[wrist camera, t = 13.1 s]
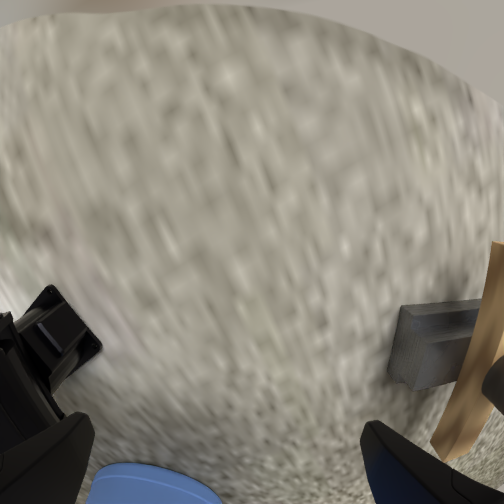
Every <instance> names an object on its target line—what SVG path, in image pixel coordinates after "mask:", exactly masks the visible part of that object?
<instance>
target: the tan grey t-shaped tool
mask: <svg viewBox="0 0 504 504" xmlns="http://www.w3.org/2000/svg"><path fill="white" fill-rule="evenodd" d="M494 406H495V407H496V408H497V409H498V410H499V411H500V412H501V413H502V414H503V415H504V242H495V241H492V246H491V253H490V260H489V266H488V271H487V277H486V282H485V287H484V292H483V296H482V301H481V305H480V309H479V313H478V317H477V321H476V324H475V328H474V331H473V335H472V338H471V342H470V345H469V348H468V351H467V354H466V357H465V360H464V363H463V366H462V369H461V371H460V374H459V377H458V379H457V382H456V385H455V387H454V390H453V392H452V395H451V397H450V399H449V402H448V404H447V406H446V409H445V411H444V413H443V415H442V417H441V420H440V422H439V424H438V426H437V428H436V430H435V432H434V434H433V436H432V438H431V440H430V443H431V445H432V446H433V448H434V449H435V451H436V452H437V454H438V456H439V457H440V459H441V460H442V462H443V463H444V462H447V461H450V460H452V459H455V458H457V457H460V456H462V455H464V454H467V453H468V452H469V451H470V449H471V447H472V446H473V444H474V442H475V441H476V439H477V437H478V436H479V434H480V432H481V430H482V429H483V427H484V425H485V423H486V421H487V419H488V417H489V416H490V414H491V412H492V410H493V408H494Z"/></svg>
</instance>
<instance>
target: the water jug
mask: <svg viewBox="0 0 504 504" xmlns="http://www.w3.org/2000/svg"><path fill="white" fill-rule="evenodd" d="M85 504H222V502H221V500H220V498H219V497H218V496H217V495H216V494H215V493H214V492H213V491H212V490H211V489H209V488H208V487H207V486H205V485H204V484H202V483H200V482H198V481H196V480H194V479H192V478H190V477H188V476H185V475H183V474H180V473H178V472H175V471H172V470H168V469H165V468H161V467H157V466H152V465H146V464H139V463H116V464H111V465H107V466H105V467H103V468H101V469H100V470H99V471H98V472H97V473H96V475H95V477H94V480H93V482H92V485H91V490H90V493H89V495H88V498H87V500H86V503H85Z"/></svg>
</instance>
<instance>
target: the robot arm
mask: <svg viewBox="0 0 504 504" xmlns="http://www.w3.org/2000/svg"><path fill="white" fill-rule="evenodd" d="M50 290H51V291H52V293H51V292H50ZM94 344H96V345H97V347H96V346H95V345H94ZM101 348H102V343H101V342H100V341H99V339H98V338H97V337H96V336H95V335H94V334H93V333H92V332H91V330H90V329H89V328H88V327H87V326H86V325H85V324H84V322H83V321H82V320H81V319H80V318H79V316H78V315H77V314H76V313H75V312H74V310H73V309H72V308H71V307H70V305H69V304H68V303H67V302H66V300H65V299H64V298H63V297H62V295H61V294H60V293H59V291H58V290H57V289H56V287H55V286H54V285H52V284H51V285H48V286H47V287H45V289H44V290H43V291H42V292H41V293H40V295H39V296H38V297H37V298H36V300H35V301H34V302H33V303H32V305H31V306H30V307H29V308H28V310H27V311H26V312H25V314H24V315H23V316H22V317H21V318H20V319H18V320H17V321H15V322H13V317H12V314H11V312H10V311H9V312H6V313H0V504H75V502H76V499H77V496H78V493H79V490H80V487H81V484H82V482H83V479H84V476H85V473H86V470H87V466H88V461H89V457H90V453H91V449H92V445H93V441H94V437H95V432H94V428H93V426H92V423H91V421H90V418H89V416H88V415H87V414H85V413H81V412H75V413H73V414H71V415H70V416H68V417H66V415H65V414H64V413H62V411H61V410H60V408H59V407H58V405H57V403H56V402H55V400H54V399H53V397H52V394H53V393H54V392H55V391H56V389H57V388H58V387H59V385H60V384H61V383H62V382H63V380H64V379H66V378H67V377H68V376H70V375H71V374H72V373H73V372H74V371H76V370H77V369H78V368H79V367H80V366H82V365H83V364H84V363H85V362H86V361H88V360H89V359H90V358H91V357H93V356H94V355H95V354H96V353H97V352H99V351H100V349H101ZM360 446H361V451H362V455H363V460H364V465H365V469H366V474H367V479H368V482H369V485H370V488H371V491H372V494H373V497H374V500H375V503H376V504H504V493H503V492H500V491H498V490H495V489H493V488H491V487H488V486H486V485H483V484H481V483H479V482H477V481H475V480H473V479H471V478H469V477H467V476H465V475H463V474H462V473H460V472H458V471H457V470H455V469H452V468H451V467H450V466H448V465H447V464H445V463H443V462H442V461H440V460H438V459H437V458H435V457H434V456H432V455H431V454H429V453H427V452H426V451H424V450H423V449H421V448H420V447H418V446H417V445H415V444H413V443H412V442H410V441H409V440H407V439H406V438H404V437H403V436H401V435H400V434H398V433H397V432H395V431H394V430H392V429H391V428H389V427H388V426H386V425H385V424H384V423H382V422H381V421H379V420H374V421H368V422H366V424H365V426H364V429H363V432H362V435H361V438H360Z"/></svg>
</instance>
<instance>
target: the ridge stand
mask: <svg viewBox="0 0 504 504" xmlns="http://www.w3.org/2000/svg"><path fill="white" fill-rule="evenodd" d="M481 301H482V299H474V300H464V301H453V302H442V303H430V304H417V305H402V306H401V310H400V315H399V320H398V325H397V330H396V335H395V339H394V344H393V348H392V352H391V356H390V360H389V364H388V368H387V372H388V373H389V374H390V376H391V377H392V379H393V380H394V381H395V383H396V384H397V383H402V382H406V383H407V384H408V386H409V387H410V388H411V390H412V391H417V390H421V389H426V388H430V387H435V386H439V385H443V384H447V383H451V382H455V381H457V379H458V377H459V374H460V371H461V369H462V366H463V363H464V360H465V357H466V354H467V351H468V348H469V345H470V342H471V338H472V335H473V331H474V328H475V324H476V321H477V317H478V313H479V309H480V305H481Z"/></svg>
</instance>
